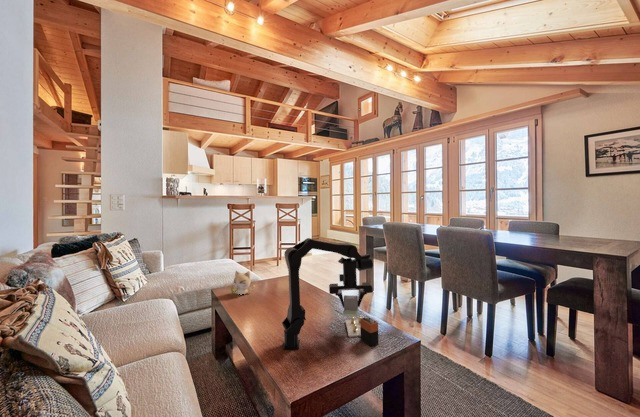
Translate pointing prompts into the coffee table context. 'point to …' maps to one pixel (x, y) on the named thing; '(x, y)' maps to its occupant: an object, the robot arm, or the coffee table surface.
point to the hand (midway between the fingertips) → (351, 307)
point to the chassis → (353, 327)
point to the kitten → (242, 283)
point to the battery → (369, 331)
